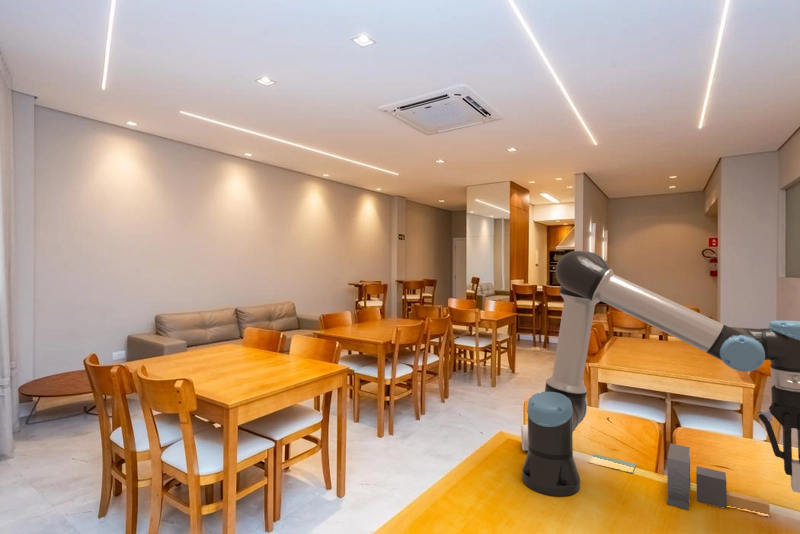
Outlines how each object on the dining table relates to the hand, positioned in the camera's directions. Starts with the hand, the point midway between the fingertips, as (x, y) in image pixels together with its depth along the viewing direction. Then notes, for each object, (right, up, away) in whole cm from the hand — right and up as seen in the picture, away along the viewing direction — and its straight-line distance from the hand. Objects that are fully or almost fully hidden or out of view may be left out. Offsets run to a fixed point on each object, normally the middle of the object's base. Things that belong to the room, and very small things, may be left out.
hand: (796, 489), depth 96 cm
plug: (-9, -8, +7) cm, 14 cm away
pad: (-28, -8, +29) cm, 41 cm away
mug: (-46, -9, +41) cm, 63 cm away
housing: (-18, -8, +13) cm, 24 cm away
